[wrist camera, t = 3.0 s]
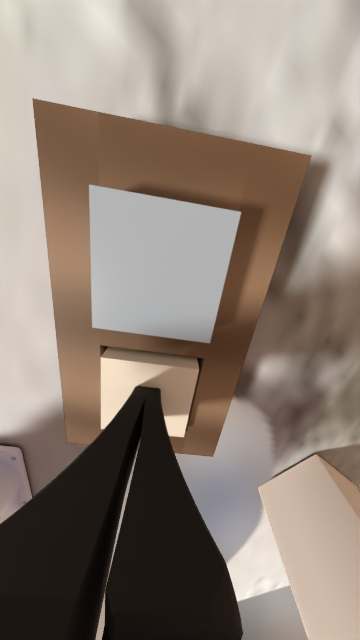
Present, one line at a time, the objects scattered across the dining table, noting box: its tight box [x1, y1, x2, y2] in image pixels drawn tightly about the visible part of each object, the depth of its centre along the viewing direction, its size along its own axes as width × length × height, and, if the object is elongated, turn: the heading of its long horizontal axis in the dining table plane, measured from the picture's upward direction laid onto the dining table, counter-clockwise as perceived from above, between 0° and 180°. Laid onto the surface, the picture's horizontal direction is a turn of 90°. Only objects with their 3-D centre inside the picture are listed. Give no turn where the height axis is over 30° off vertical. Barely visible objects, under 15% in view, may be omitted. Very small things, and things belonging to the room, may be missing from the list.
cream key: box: [101, 346, 199, 437], centre depth 11 cm, size 5×5×2 cm
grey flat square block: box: [89, 185, 241, 343], centre depth 8 cm, size 5×5×2 cm
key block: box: [33, 99, 311, 457], centre depth 11 cm, size 17×10×3 cm, turn 171°
